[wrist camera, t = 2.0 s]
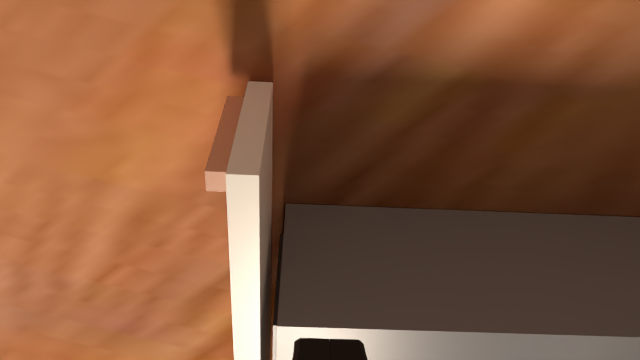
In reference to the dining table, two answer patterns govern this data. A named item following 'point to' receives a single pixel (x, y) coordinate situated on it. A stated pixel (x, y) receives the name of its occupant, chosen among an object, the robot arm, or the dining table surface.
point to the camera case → (459, 283)
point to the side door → (247, 212)
